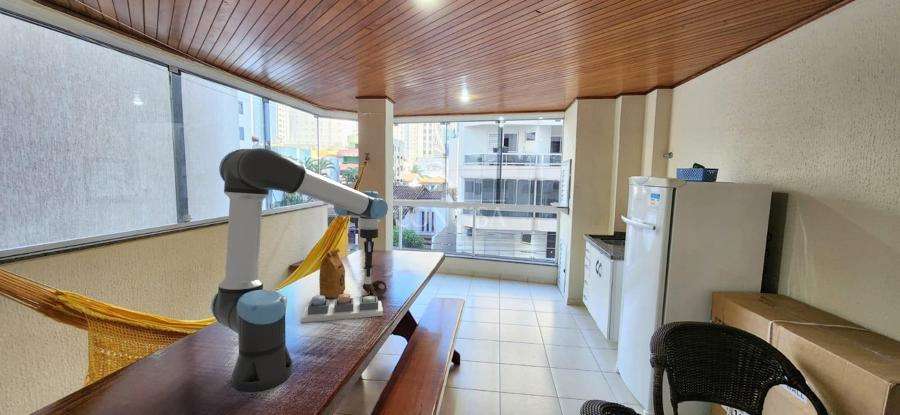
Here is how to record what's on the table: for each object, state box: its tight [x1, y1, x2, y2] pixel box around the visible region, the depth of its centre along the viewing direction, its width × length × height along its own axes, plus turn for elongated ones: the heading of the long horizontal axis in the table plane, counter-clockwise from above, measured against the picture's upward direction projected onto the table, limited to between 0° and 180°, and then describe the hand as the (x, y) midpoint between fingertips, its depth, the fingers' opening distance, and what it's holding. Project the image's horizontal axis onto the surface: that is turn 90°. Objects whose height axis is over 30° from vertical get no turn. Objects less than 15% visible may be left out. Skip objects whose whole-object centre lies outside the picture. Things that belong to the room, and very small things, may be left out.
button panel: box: [301, 296, 384, 323], centre depth 142 cm, size 31×12×5 cm, turn 106°
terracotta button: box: [337, 293, 352, 304], centre depth 142 cm, size 5×5×3 cm
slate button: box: [311, 294, 326, 306], centre depth 139 cm, size 5×5×3 cm
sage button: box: [362, 295, 375, 303], centre depth 145 cm, size 5×5×3 cm
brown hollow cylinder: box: [362, 279, 388, 298], centre depth 164 cm, size 12×10×8 cm
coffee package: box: [318, 248, 346, 299], centre depth 163 cm, size 10×12×22 cm
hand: (367, 283), depth 144 cm, fingers closed
